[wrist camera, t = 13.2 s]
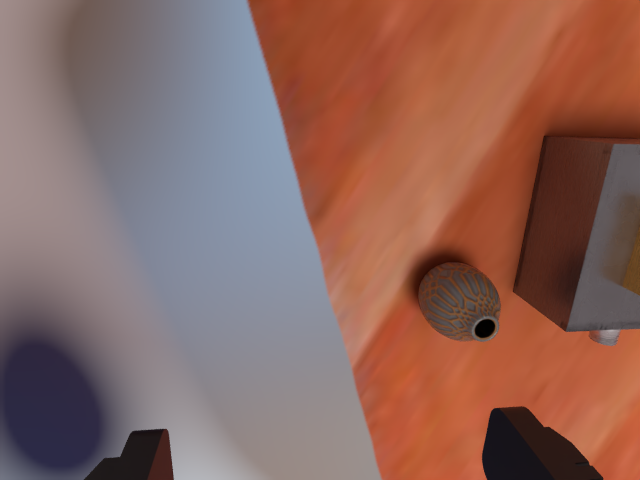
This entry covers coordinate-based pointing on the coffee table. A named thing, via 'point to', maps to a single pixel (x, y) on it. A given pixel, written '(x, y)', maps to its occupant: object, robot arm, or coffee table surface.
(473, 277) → the vase
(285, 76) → the coffee table surface
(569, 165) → the grey box with opening
